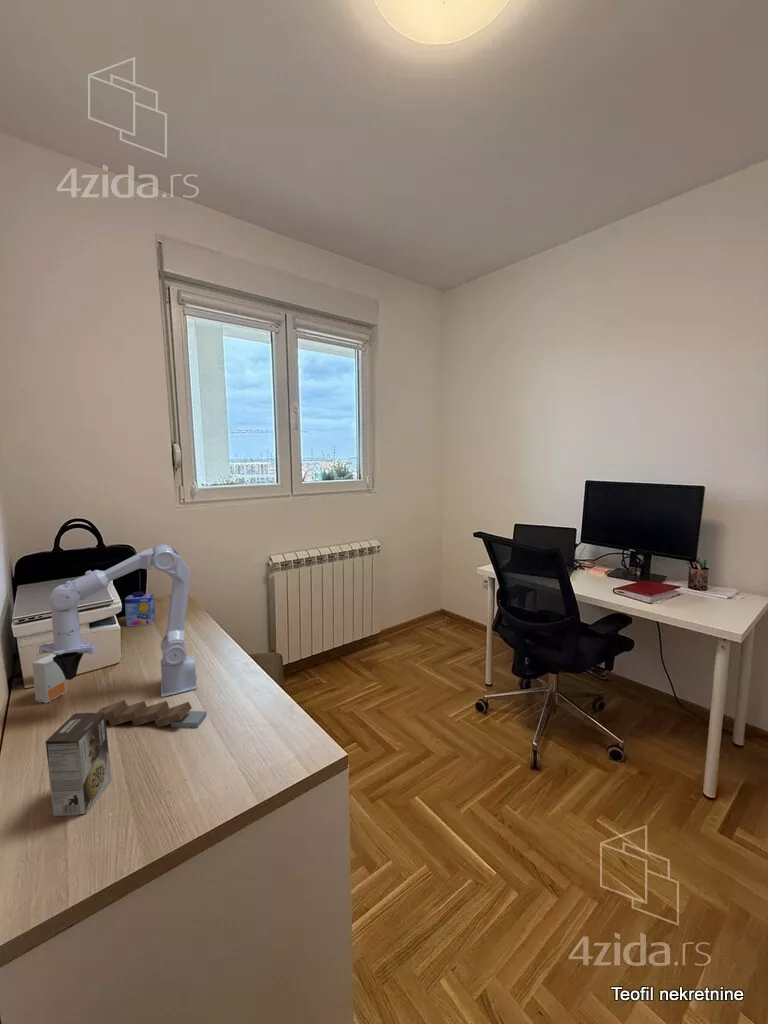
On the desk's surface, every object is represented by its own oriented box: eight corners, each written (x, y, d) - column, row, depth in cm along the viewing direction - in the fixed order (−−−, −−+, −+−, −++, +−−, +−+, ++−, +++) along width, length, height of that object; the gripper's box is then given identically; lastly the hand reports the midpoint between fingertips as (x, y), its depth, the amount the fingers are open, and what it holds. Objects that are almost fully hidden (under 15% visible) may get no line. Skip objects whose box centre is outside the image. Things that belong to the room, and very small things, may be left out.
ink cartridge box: (125, 627, 173) (123, 593, 171) (130, 622, 178) (127, 589, 176) (151, 625, 175) (149, 591, 173) (155, 620, 180) (153, 588, 179)
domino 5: (170, 722, 108) (197, 722, 108) (181, 710, 113) (206, 711, 113) (171, 729, 109) (197, 730, 108) (181, 717, 114) (206, 718, 113)
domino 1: (88, 719, 108) (111, 710, 108) (101, 708, 113) (124, 699, 113) (91, 726, 109) (115, 717, 108) (105, 714, 114) (127, 705, 113)
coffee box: (81, 781, 90) (74, 712, 88) (112, 780, 91) (106, 710, 89) (51, 817, 81) (43, 741, 79) (86, 815, 82) (79, 739, 80)
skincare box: (47, 704, 118) (43, 664, 117) (35, 702, 119) (31, 662, 118) (67, 692, 124) (63, 654, 123) (55, 690, 125) (52, 653, 124)
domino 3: (131, 719, 109) (156, 711, 108) (143, 708, 114) (166, 700, 113) (134, 726, 109) (158, 718, 108) (145, 714, 114) (169, 707, 113)
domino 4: (155, 721, 108) (177, 713, 107) (167, 709, 113) (188, 701, 112) (158, 727, 108) (180, 720, 107) (170, 715, 113) (191, 708, 112)
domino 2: (108, 719, 108) (132, 711, 108) (121, 708, 113) (144, 700, 113) (111, 726, 109) (135, 718, 108) (123, 714, 114) (147, 707, 113)
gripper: (26, 635, 107) (32, 685, 109) (82, 636, 107) (87, 686, 109) (49, 625, 114) (53, 671, 116) (101, 625, 114) (105, 672, 116)
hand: (71, 677), depth 113 cm, fingers closed
